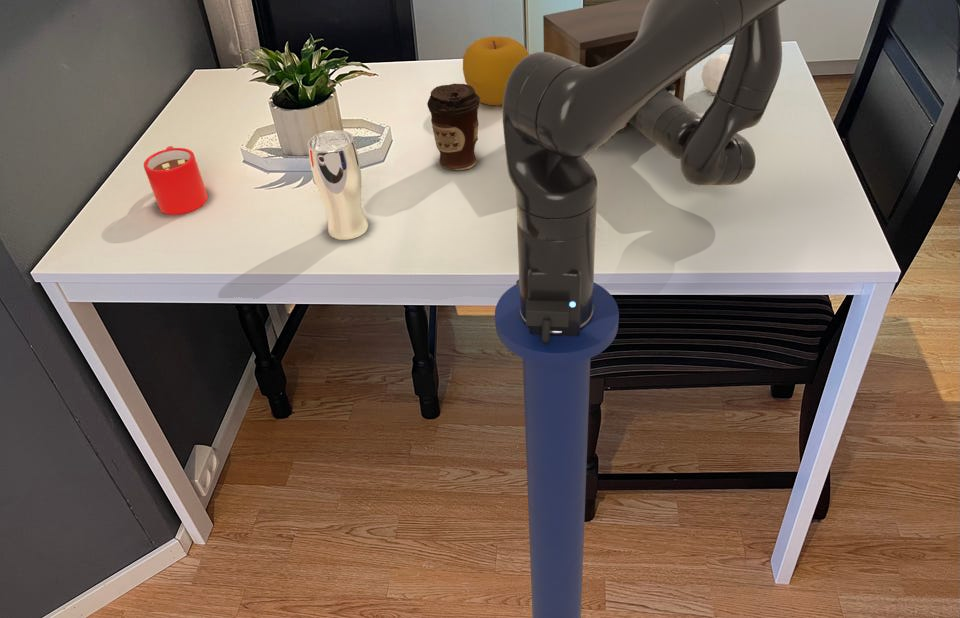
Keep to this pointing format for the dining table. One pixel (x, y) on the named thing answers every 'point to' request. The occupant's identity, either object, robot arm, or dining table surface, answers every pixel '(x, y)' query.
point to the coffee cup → (455, 124)
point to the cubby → (597, 33)
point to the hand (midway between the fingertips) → (609, 78)
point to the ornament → (714, 71)
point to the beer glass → (338, 182)
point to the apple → (491, 66)
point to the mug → (176, 180)
